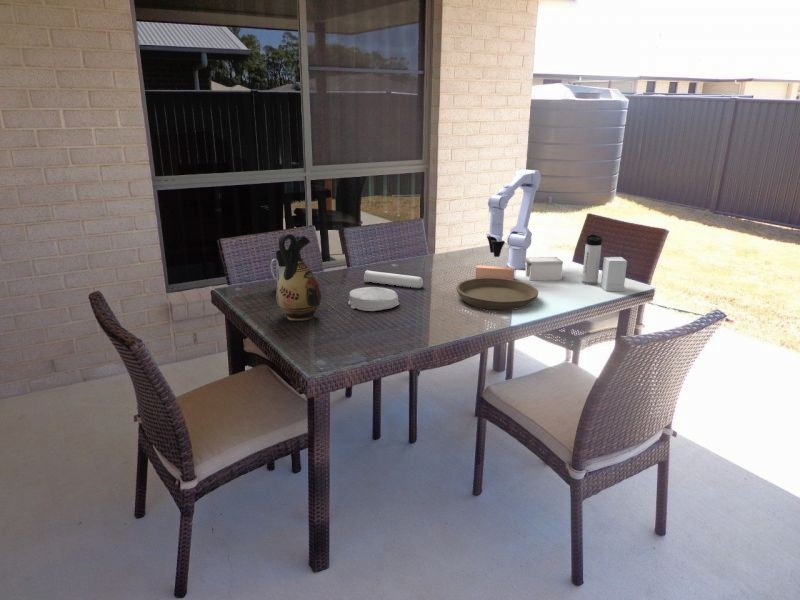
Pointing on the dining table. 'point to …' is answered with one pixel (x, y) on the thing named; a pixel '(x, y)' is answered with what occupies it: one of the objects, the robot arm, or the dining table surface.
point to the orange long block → (494, 272)
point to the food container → (373, 298)
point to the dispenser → (543, 268)
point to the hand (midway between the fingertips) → (494, 254)
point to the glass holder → (279, 265)
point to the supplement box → (613, 273)
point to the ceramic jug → (297, 282)
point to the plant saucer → (497, 293)
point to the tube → (393, 279)
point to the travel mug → (592, 259)
